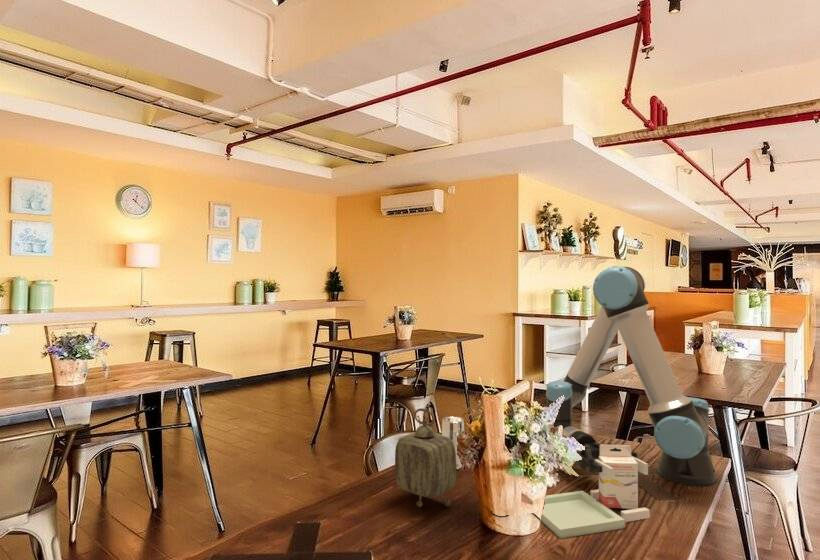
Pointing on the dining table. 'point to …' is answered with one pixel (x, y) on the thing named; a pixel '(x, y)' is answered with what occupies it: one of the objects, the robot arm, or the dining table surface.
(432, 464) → the tabletop clock
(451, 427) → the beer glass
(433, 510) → the dining table surface
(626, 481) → the ink cartridge box
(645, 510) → the cartridge bay
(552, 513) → the sage tray
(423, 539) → the dining table surface
